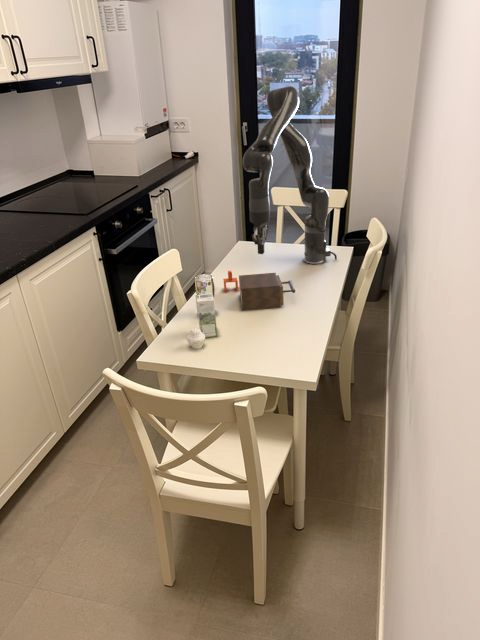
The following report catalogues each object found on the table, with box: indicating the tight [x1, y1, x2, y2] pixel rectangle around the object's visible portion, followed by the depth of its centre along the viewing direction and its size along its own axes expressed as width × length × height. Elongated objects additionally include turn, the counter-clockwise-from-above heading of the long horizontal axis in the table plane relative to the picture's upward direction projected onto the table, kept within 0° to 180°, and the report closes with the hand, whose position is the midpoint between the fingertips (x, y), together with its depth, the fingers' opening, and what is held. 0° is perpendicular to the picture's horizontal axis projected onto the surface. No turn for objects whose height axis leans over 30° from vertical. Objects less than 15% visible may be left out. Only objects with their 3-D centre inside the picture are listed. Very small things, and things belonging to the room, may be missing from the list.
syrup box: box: [195, 293, 218, 339], centre depth 172 cm, size 6×6×14 cm
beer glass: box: [194, 273, 217, 315], centre depth 184 cm, size 7×7×15 cm
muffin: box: [186, 327, 206, 350], centre depth 166 cm, size 6×6×7 cm
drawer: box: [276, 274, 296, 306], centre depth 193 cm, size 18×11×7 cm, turn 96°
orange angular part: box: [223, 270, 239, 293], centre depth 204 cm, size 6×3×8 cm, turn 96°
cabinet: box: [238, 272, 281, 311], centre depth 193 cm, size 15×13×9 cm
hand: (261, 253), depth 193 cm, fingers closed
